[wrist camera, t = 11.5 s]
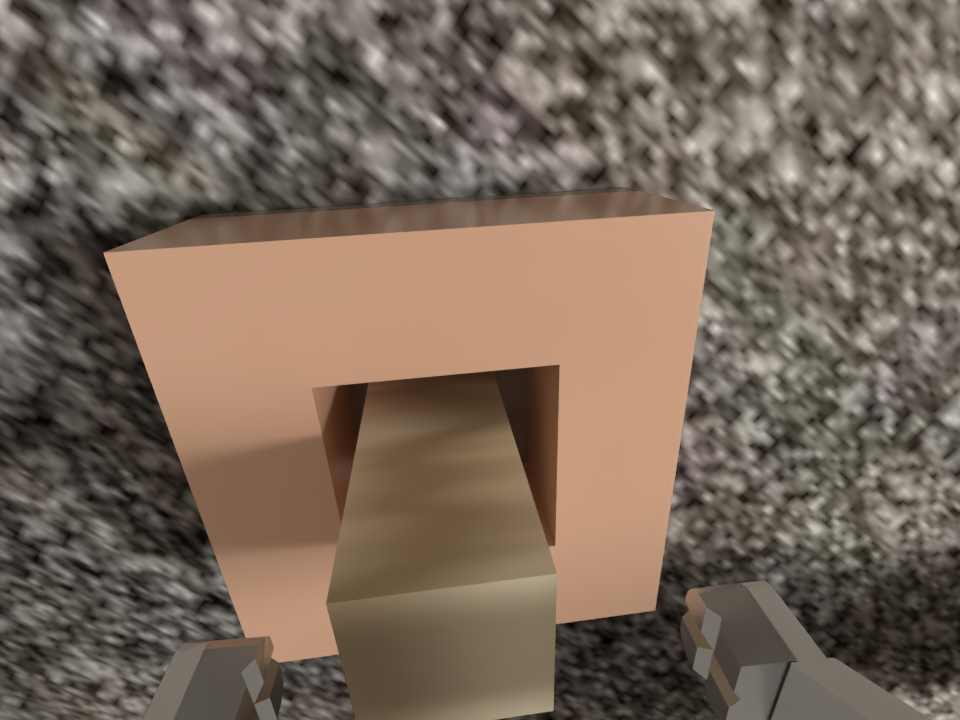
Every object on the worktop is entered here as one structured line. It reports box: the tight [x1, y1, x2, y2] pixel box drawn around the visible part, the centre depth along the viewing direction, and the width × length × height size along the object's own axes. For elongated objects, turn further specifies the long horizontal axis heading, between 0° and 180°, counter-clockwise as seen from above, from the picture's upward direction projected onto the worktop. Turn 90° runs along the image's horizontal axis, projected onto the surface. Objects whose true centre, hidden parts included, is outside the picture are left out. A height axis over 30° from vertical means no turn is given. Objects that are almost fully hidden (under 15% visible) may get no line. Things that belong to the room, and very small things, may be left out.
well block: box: [103, 188, 715, 663], centre depth 17 cm, size 14×14×6 cm
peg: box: [326, 371, 557, 720], centre depth 14 cm, size 4×4×10 cm
